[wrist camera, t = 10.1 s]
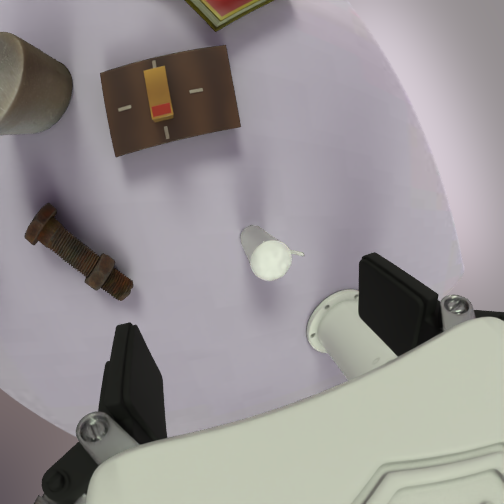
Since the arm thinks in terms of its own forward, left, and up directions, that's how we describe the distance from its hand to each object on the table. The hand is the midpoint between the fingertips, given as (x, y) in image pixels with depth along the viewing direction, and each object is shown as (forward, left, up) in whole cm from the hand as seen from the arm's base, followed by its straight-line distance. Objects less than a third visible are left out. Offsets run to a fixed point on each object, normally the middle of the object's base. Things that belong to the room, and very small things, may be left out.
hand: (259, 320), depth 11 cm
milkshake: (-6, +7, -26) cm, 28 cm away
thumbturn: (+2, -12, -23) cm, 26 cm away
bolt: (+16, +3, -26) cm, 31 cm away
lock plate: (+1, -12, -26) cm, 29 cm away
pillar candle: (+17, -18, -26) cm, 36 cm away
